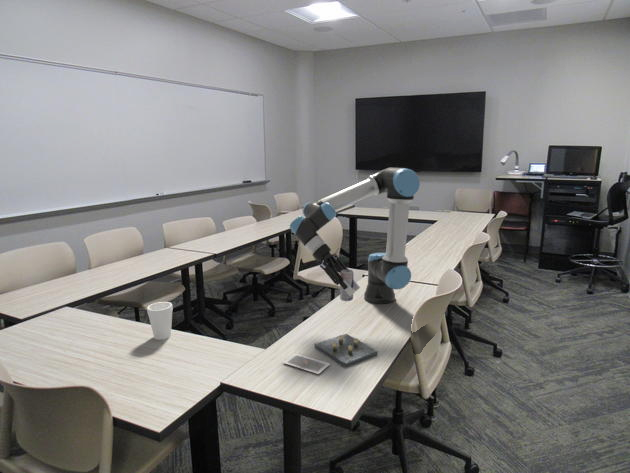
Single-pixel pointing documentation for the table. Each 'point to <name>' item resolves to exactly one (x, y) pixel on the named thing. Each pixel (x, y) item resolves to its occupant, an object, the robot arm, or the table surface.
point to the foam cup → (160, 319)
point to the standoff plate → (345, 350)
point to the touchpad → (306, 363)
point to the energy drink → (348, 277)
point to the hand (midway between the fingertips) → (355, 291)
